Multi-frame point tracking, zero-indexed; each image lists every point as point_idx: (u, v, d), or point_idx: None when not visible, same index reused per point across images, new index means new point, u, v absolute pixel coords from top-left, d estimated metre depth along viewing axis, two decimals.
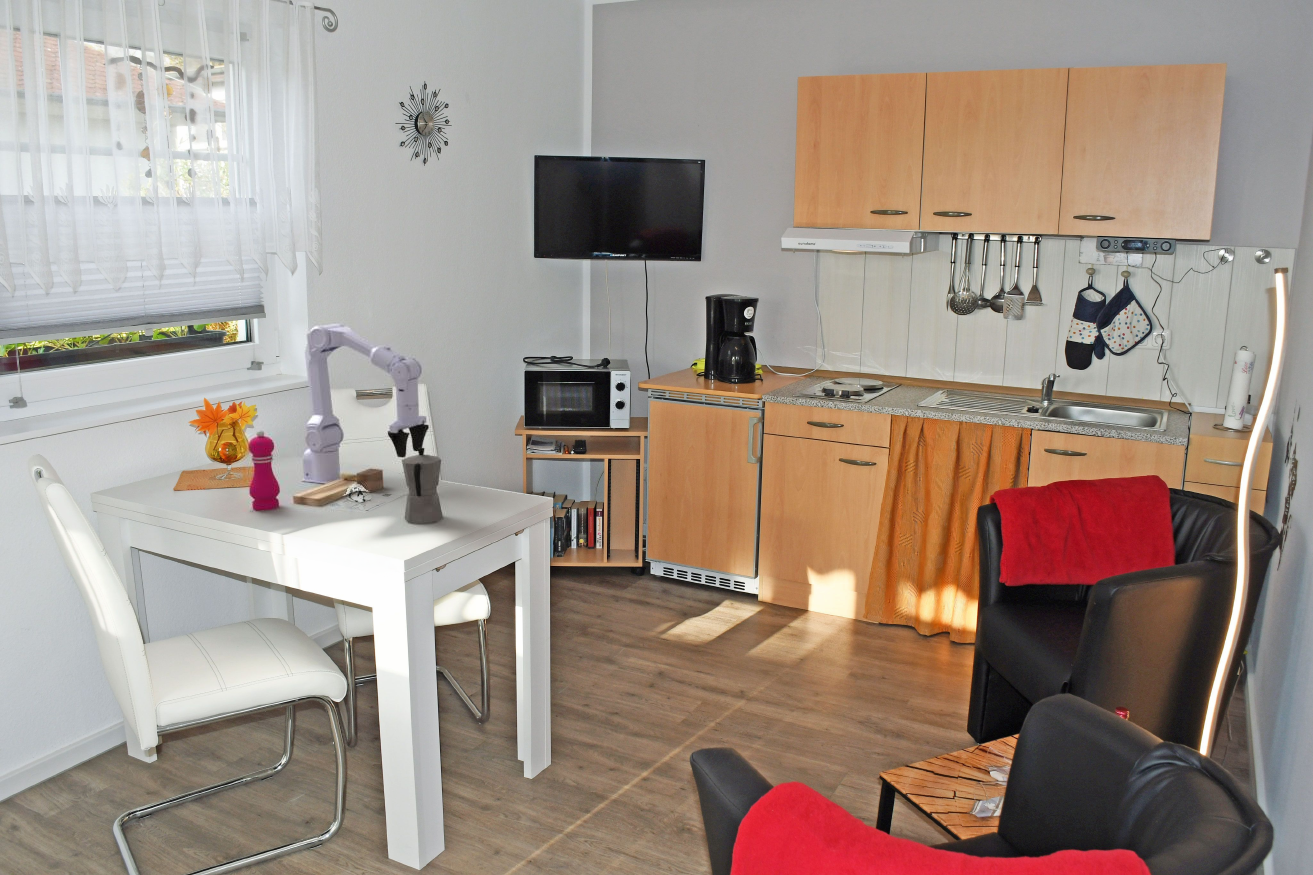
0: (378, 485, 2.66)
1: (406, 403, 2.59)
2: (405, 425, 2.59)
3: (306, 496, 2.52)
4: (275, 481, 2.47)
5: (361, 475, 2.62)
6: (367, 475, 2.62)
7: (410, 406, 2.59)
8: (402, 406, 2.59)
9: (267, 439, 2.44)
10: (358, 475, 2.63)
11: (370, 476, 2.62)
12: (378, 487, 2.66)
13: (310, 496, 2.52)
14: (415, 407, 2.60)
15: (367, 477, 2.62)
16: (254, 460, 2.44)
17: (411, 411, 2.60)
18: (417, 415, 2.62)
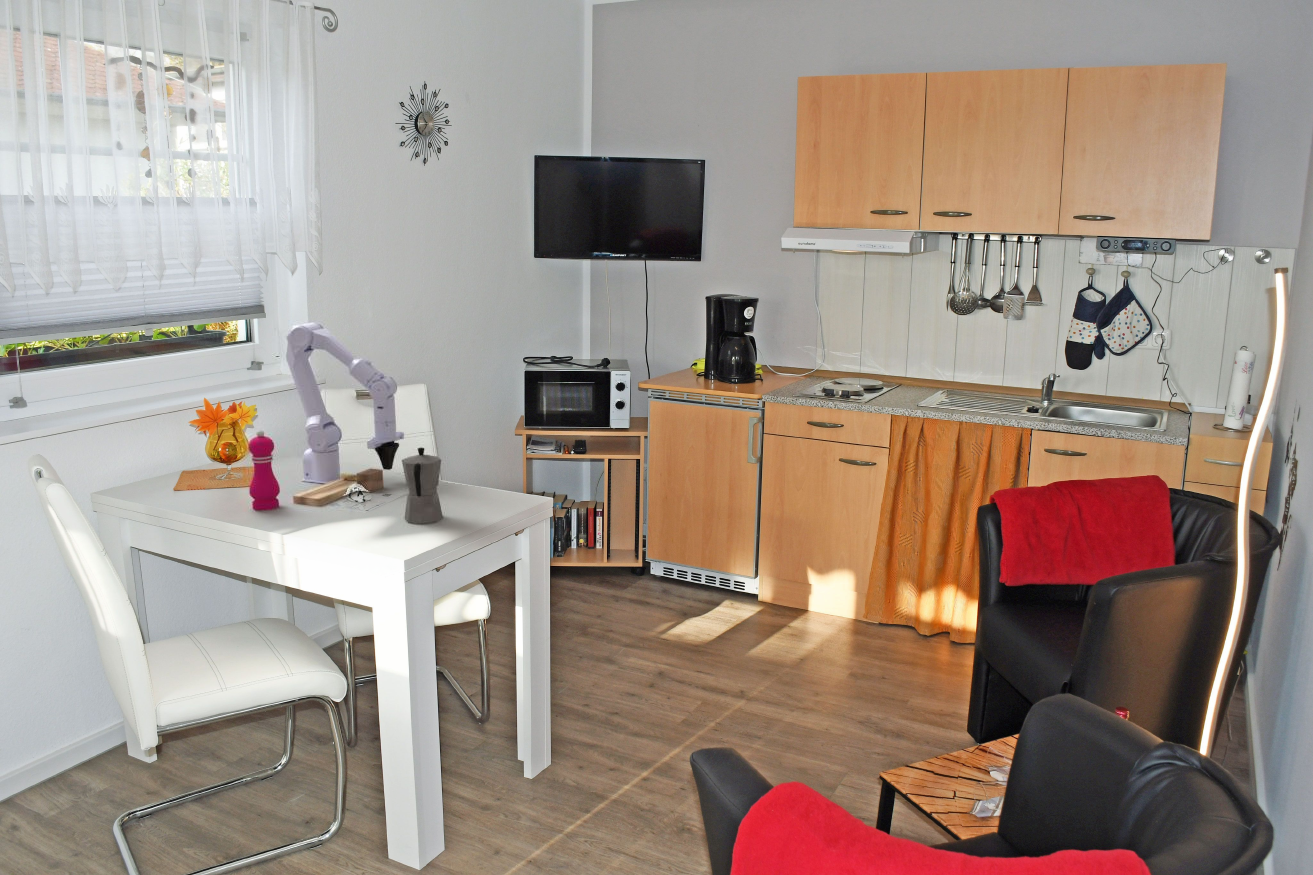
0: (378, 485, 2.66)
1: (386, 420, 2.67)
2: (382, 441, 2.67)
3: (306, 496, 2.52)
4: (275, 481, 2.47)
5: (361, 475, 2.62)
6: (367, 475, 2.62)
7: (387, 423, 2.67)
8: (379, 423, 2.67)
9: (267, 439, 2.44)
10: (358, 475, 2.63)
11: (370, 476, 2.62)
12: (378, 487, 2.66)
13: (310, 496, 2.52)
14: (392, 424, 2.68)
15: (367, 477, 2.62)
16: (254, 460, 2.44)
17: (388, 427, 2.68)
18: (395, 432, 2.70)
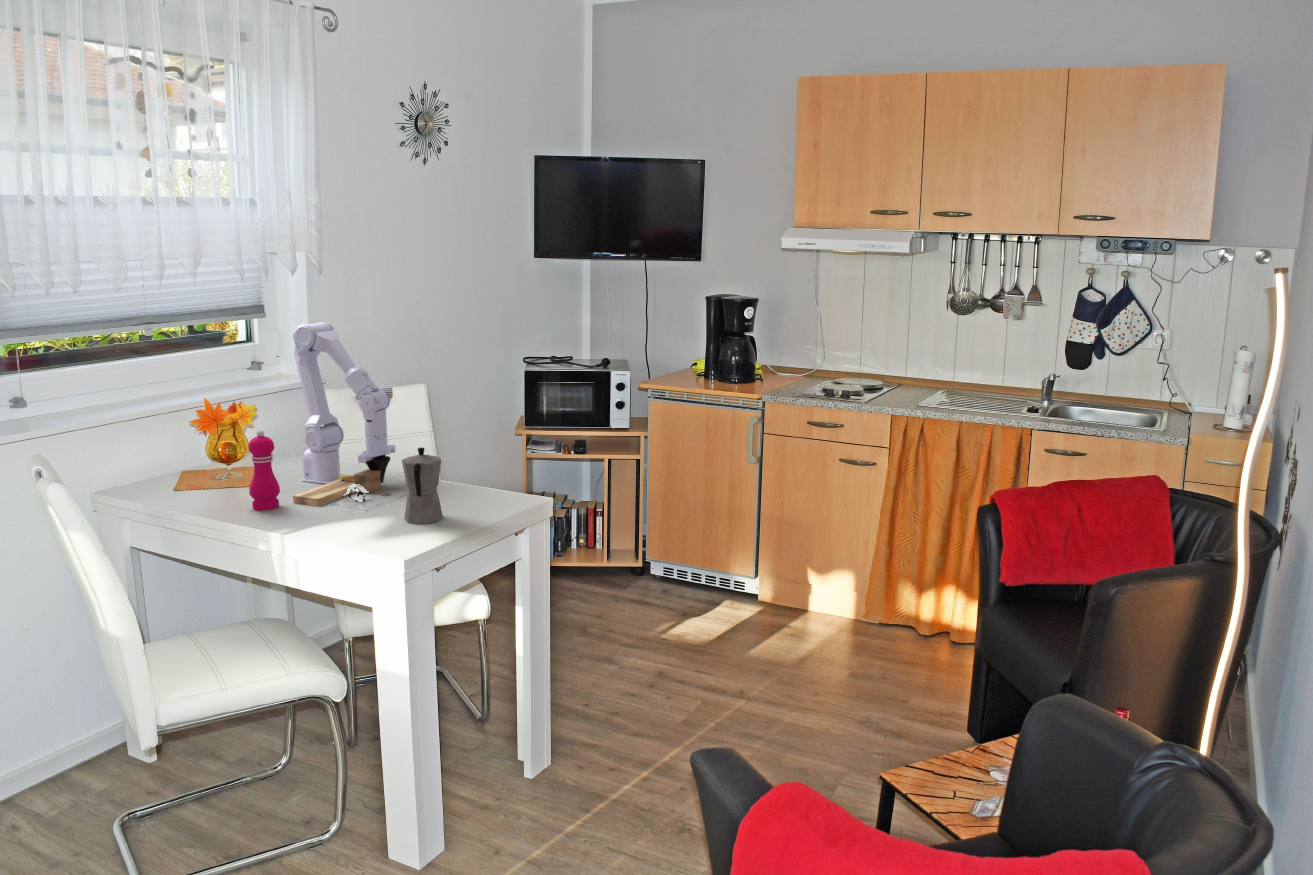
0: (375, 486, 2.65)
1: (374, 433, 2.63)
2: (373, 455, 2.63)
3: (306, 496, 2.52)
4: (275, 481, 2.47)
5: (358, 476, 2.61)
6: (364, 476, 2.61)
7: (378, 436, 2.64)
8: (370, 436, 2.64)
9: (267, 439, 2.44)
10: (355, 476, 2.62)
11: (367, 477, 2.61)
12: (376, 488, 2.65)
13: (310, 496, 2.52)
14: (383, 437, 2.65)
15: (365, 478, 2.61)
16: (254, 460, 2.44)
17: (379, 441, 2.64)
18: (386, 445, 2.67)
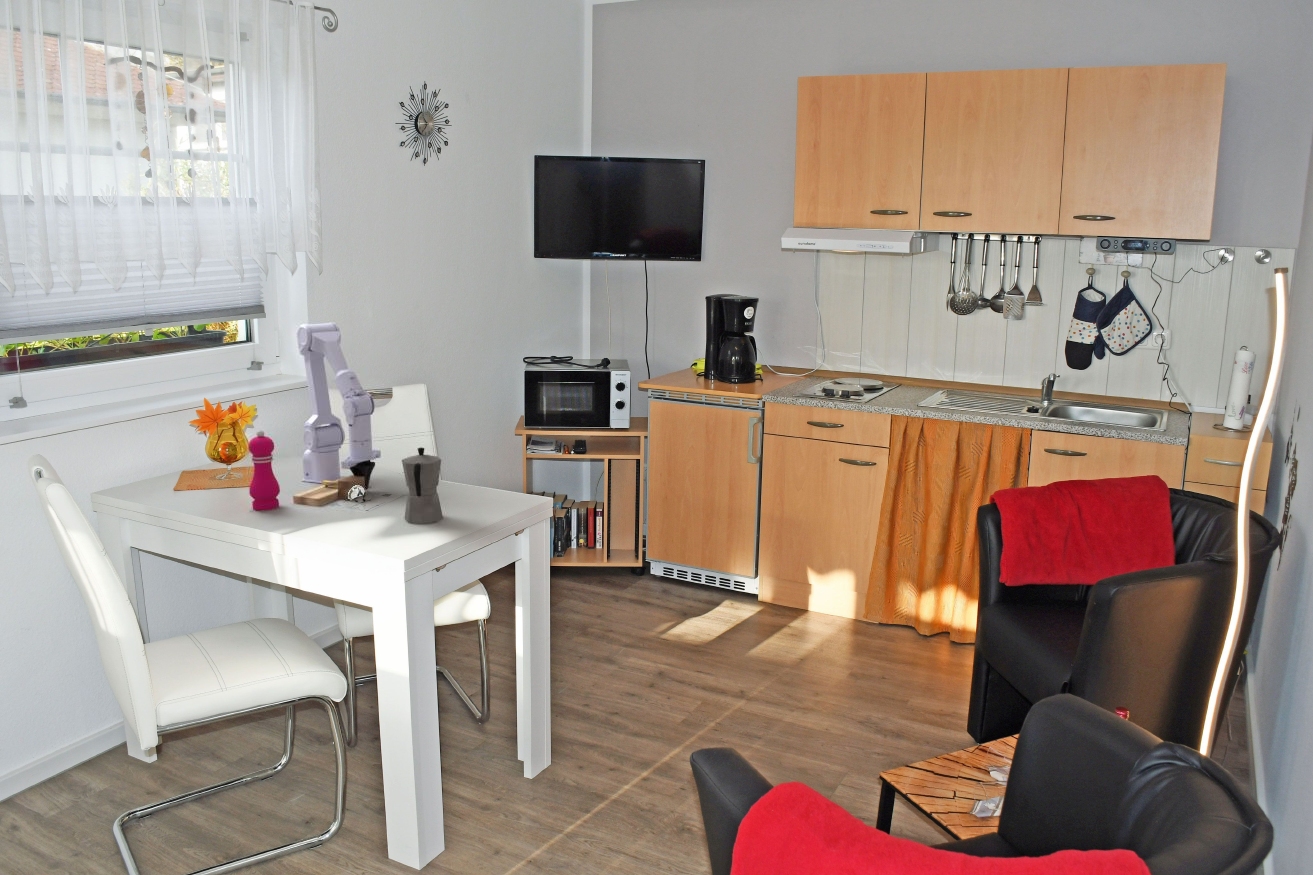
0: None
1: (354, 438, 2.57)
2: (357, 461, 2.57)
3: (306, 496, 2.52)
4: (275, 481, 2.47)
5: (342, 482, 2.55)
6: (348, 482, 2.54)
7: (363, 441, 2.58)
8: (354, 442, 2.57)
9: (267, 439, 2.44)
10: (339, 482, 2.55)
11: (351, 483, 2.55)
12: None
13: (310, 496, 2.52)
14: (368, 442, 2.59)
15: (348, 484, 2.54)
16: (254, 460, 2.44)
17: (363, 446, 2.58)
18: (371, 451, 2.60)
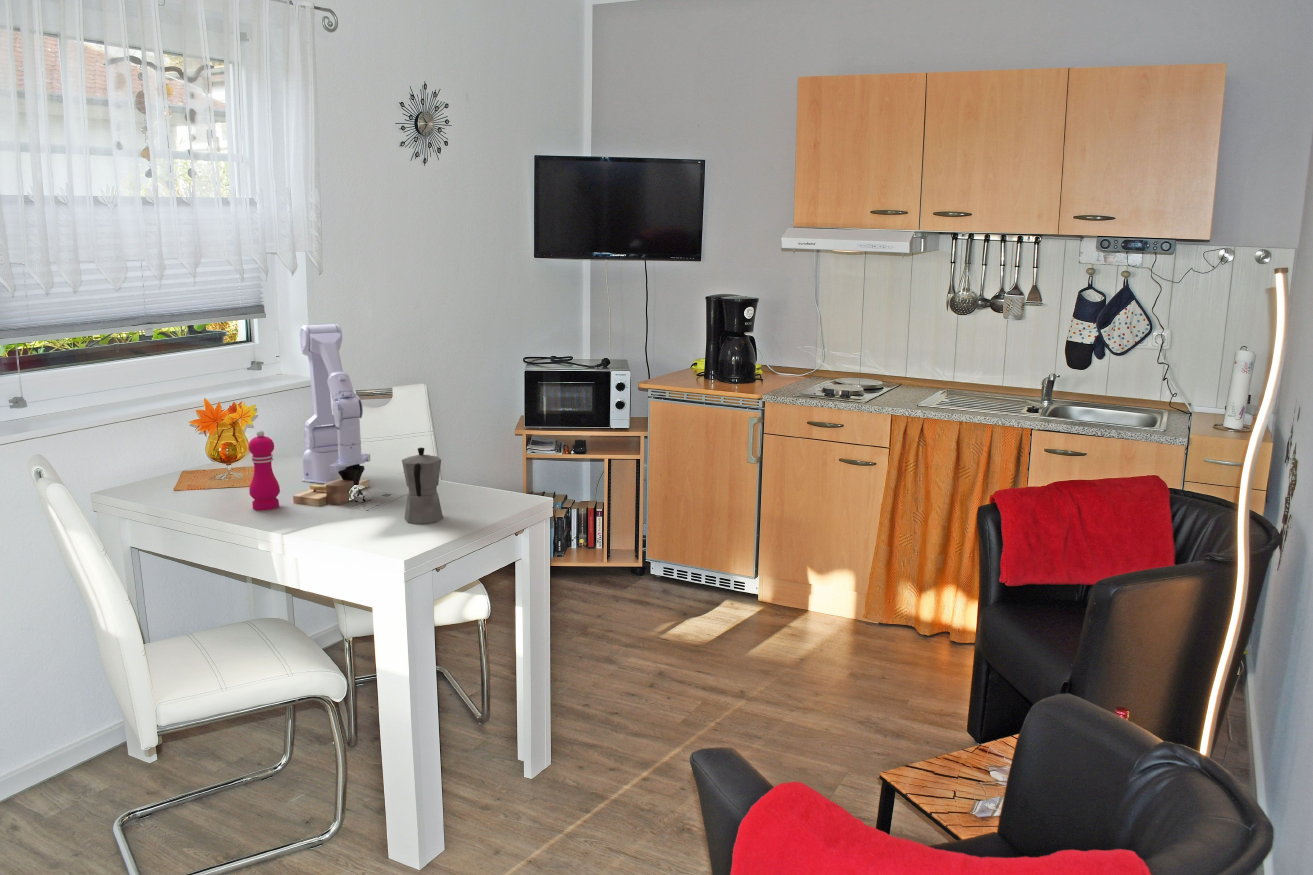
0: (348, 497, 2.54)
1: (341, 442, 2.53)
2: (346, 465, 2.52)
3: (306, 496, 2.52)
4: (275, 481, 2.47)
5: (330, 487, 2.51)
6: (337, 487, 2.50)
7: (351, 445, 2.53)
8: (343, 445, 2.53)
9: (267, 439, 2.44)
10: (327, 487, 2.51)
11: (340, 487, 2.50)
12: None
13: (310, 496, 2.52)
14: (357, 446, 2.54)
15: (337, 488, 2.50)
16: (254, 460, 2.44)
17: (352, 450, 2.54)
18: (360, 454, 2.56)
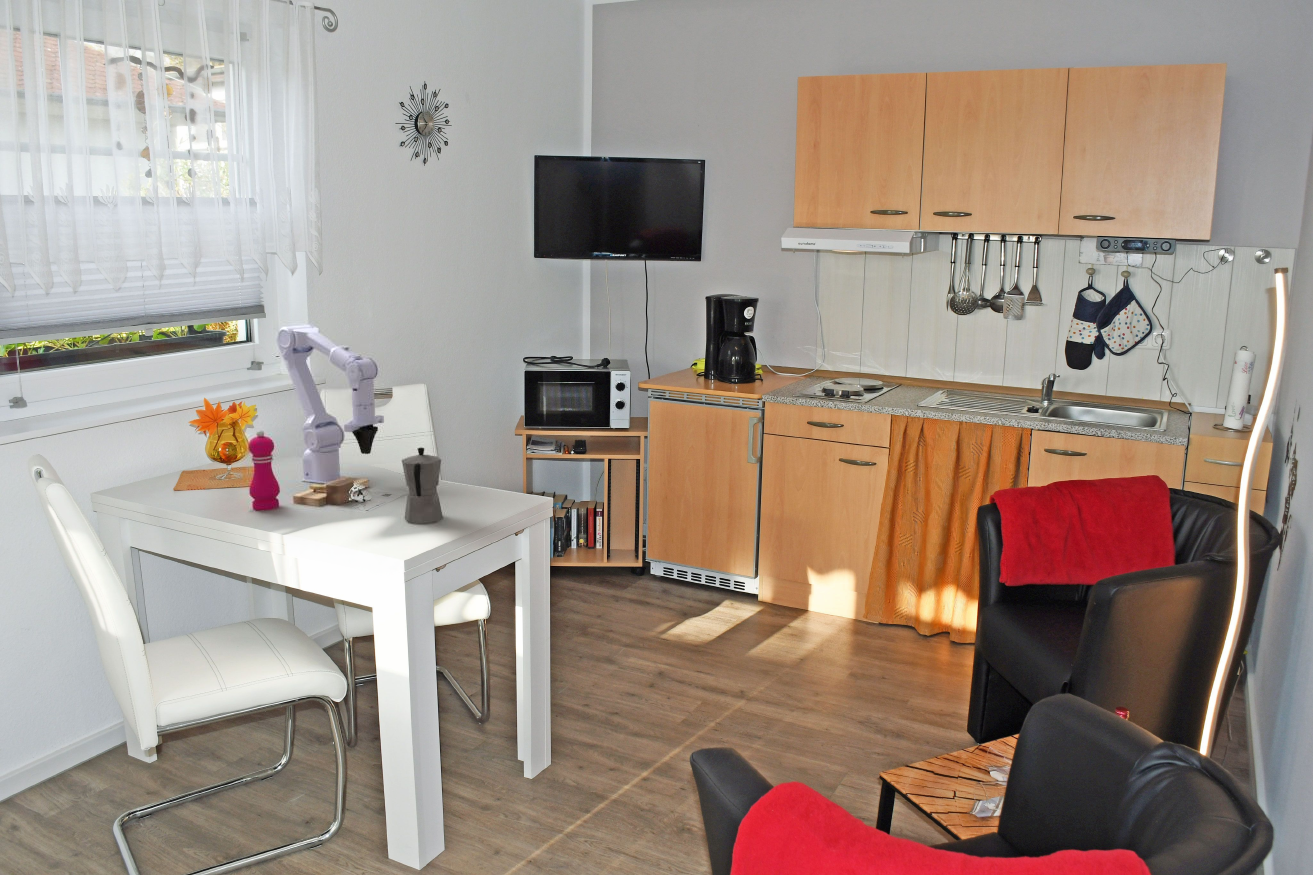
0: (348, 497, 2.54)
1: (359, 403, 2.60)
2: (360, 424, 2.59)
3: (306, 496, 2.52)
4: (275, 481, 2.47)
5: (330, 487, 2.51)
6: (337, 487, 2.50)
7: (365, 406, 2.60)
8: (357, 406, 2.60)
9: (267, 439, 2.44)
10: (327, 487, 2.51)
11: (340, 487, 2.50)
12: None
13: (310, 496, 2.52)
14: (371, 407, 2.61)
15: (337, 488, 2.50)
16: (254, 460, 2.44)
17: (366, 410, 2.60)
18: (373, 415, 2.63)
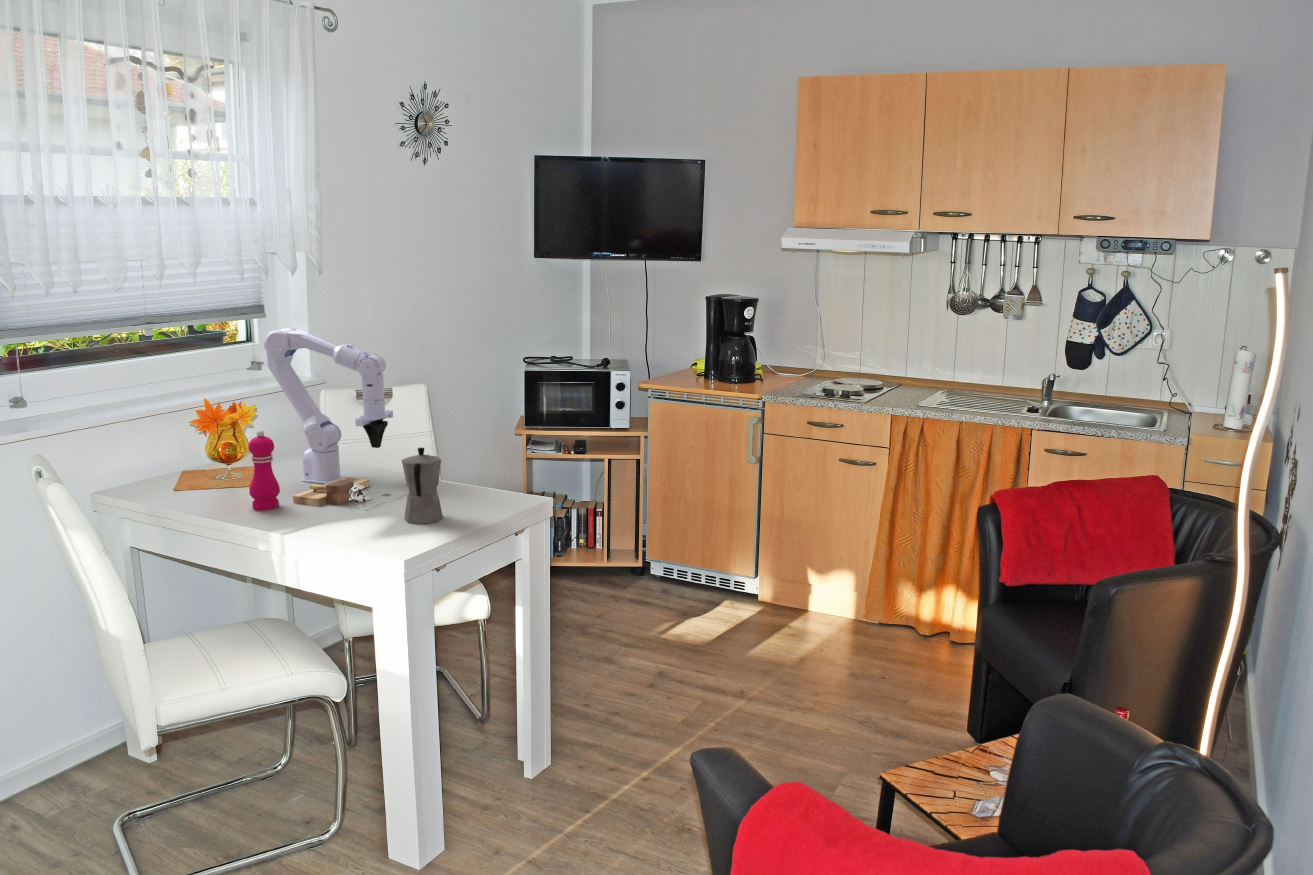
0: (348, 497, 2.54)
1: (375, 397, 2.67)
2: (371, 419, 2.66)
3: (306, 496, 2.52)
4: (275, 481, 2.47)
5: (330, 487, 2.51)
6: (337, 487, 2.50)
7: (376, 400, 2.67)
8: (368, 401, 2.67)
9: (267, 439, 2.44)
10: (327, 487, 2.51)
11: (340, 487, 2.50)
12: None
13: (310, 496, 2.52)
14: (381, 401, 2.68)
15: (337, 488, 2.50)
16: (254, 460, 2.44)
17: (376, 405, 2.67)
18: (383, 410, 2.70)
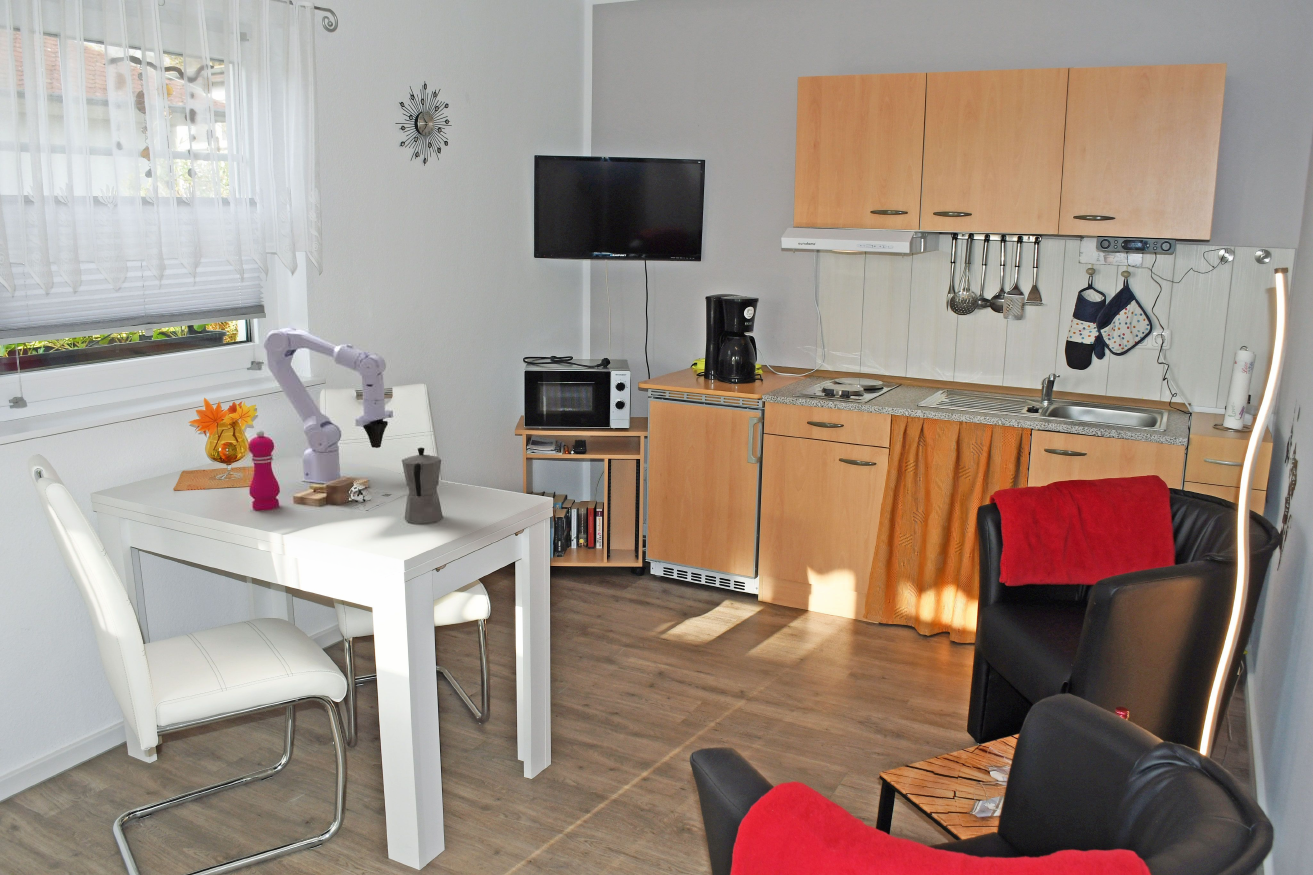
0: (348, 497, 2.54)
1: (375, 397, 2.67)
2: (371, 419, 2.66)
3: (306, 496, 2.52)
4: (275, 481, 2.47)
5: (330, 487, 2.51)
6: (337, 487, 2.50)
7: (376, 400, 2.67)
8: (368, 401, 2.67)
9: (267, 439, 2.44)
10: (327, 487, 2.51)
11: (340, 487, 2.50)
12: None
13: (310, 496, 2.52)
14: (381, 401, 2.68)
15: (337, 488, 2.50)
16: (254, 460, 2.44)
17: (376, 405, 2.67)
18: (383, 410, 2.70)
